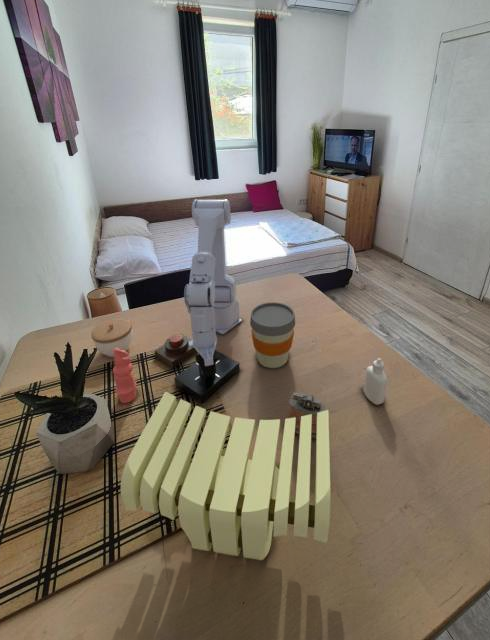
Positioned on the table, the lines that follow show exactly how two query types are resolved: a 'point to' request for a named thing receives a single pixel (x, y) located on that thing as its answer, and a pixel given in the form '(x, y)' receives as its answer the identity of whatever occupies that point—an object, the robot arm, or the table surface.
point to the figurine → (123, 376)
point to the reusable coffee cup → (272, 333)
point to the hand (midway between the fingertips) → (207, 368)
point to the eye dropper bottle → (375, 382)
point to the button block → (175, 352)
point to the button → (176, 340)
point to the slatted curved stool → (228, 478)
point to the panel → (206, 379)
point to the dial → (202, 371)
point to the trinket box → (112, 336)
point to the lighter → (305, 410)
